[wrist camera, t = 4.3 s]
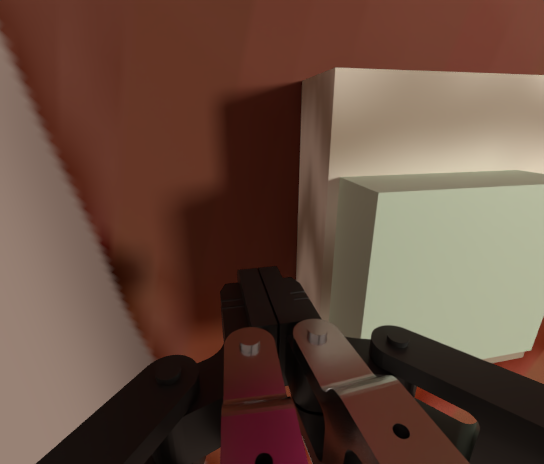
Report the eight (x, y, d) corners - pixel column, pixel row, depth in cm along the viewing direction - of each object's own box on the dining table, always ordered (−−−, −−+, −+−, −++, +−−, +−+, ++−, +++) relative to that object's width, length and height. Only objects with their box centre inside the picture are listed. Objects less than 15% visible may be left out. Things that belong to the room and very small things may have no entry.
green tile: (339, 177, 13) (378, 192, 10) (517, 169, 14) (592, 181, 12) (327, 335, 15) (355, 383, 13) (477, 313, 17) (530, 350, 14)
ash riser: (302, 80, 15) (335, 67, 11) (534, 87, 17) (622, 78, 14) (293, 346, 20) (314, 397, 17) (471, 319, 23) (522, 357, 19)
